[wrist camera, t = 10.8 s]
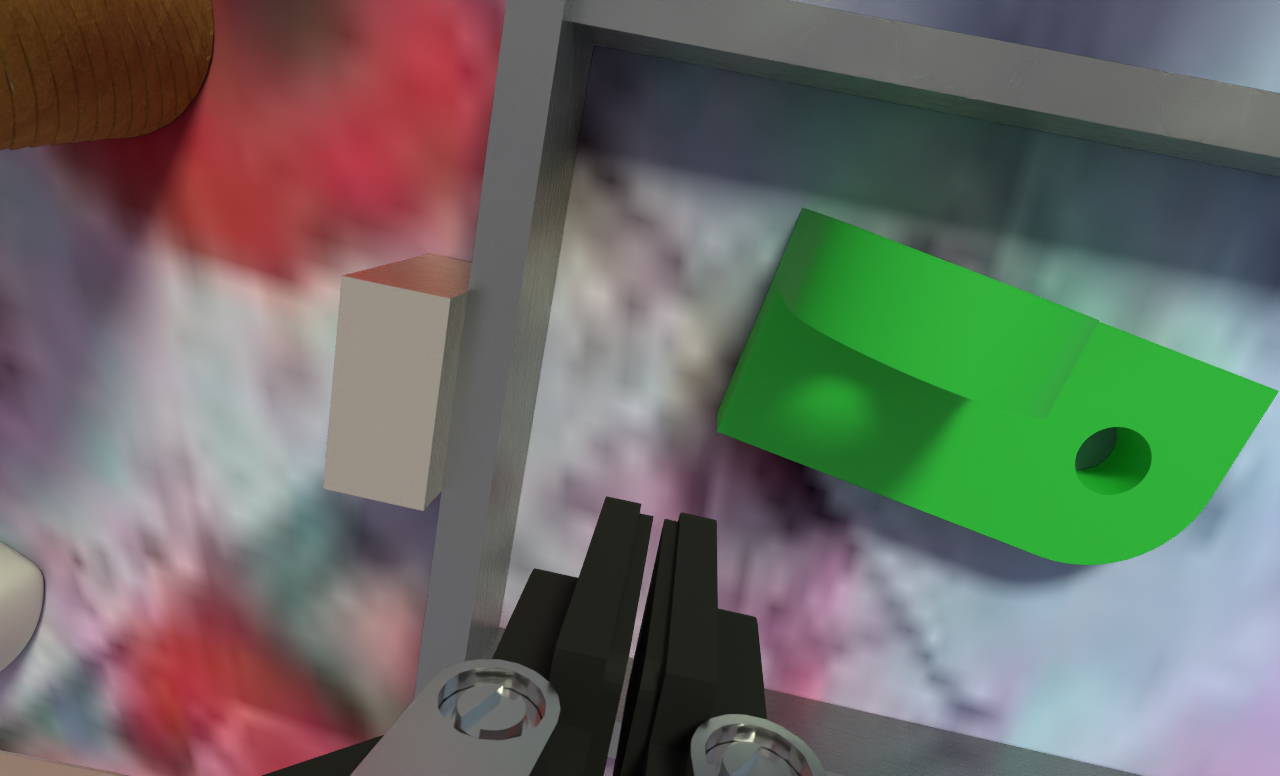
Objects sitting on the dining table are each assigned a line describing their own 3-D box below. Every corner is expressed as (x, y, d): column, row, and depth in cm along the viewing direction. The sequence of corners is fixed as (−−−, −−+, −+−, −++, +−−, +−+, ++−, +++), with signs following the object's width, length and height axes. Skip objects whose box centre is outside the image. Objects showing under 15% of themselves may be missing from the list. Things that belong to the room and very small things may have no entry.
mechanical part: (717, 409, 22) (714, 529, 15) (802, 207, 21) (849, 223, 13) (1110, 562, 22) (1315, 762, 15) (1227, 371, 21) (1525, 484, 13)
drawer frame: (1454, 155, 19) (1722, 146, 14) (1153, 813, 24) (1267, 980, 19) (462, -34, 20) (375, -105, 15) (384, 635, 25) (300, 748, 20)
